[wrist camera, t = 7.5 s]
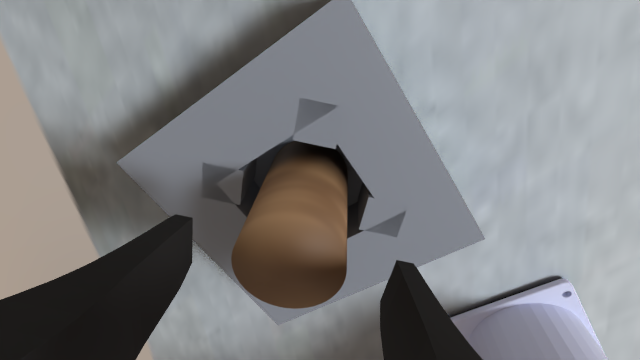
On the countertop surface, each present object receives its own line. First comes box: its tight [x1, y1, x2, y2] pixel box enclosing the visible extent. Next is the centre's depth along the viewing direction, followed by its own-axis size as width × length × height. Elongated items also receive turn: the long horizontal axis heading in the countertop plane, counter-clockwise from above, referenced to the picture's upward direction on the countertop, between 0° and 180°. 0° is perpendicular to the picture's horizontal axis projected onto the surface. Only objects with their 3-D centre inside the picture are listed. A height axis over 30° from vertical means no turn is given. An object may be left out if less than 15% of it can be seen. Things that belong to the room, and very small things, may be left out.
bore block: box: [116, 0, 485, 325], centre depth 17 cm, size 12×12×4 cm
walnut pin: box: [231, 141, 348, 309], centre depth 15 cm, size 4×4×7 cm
